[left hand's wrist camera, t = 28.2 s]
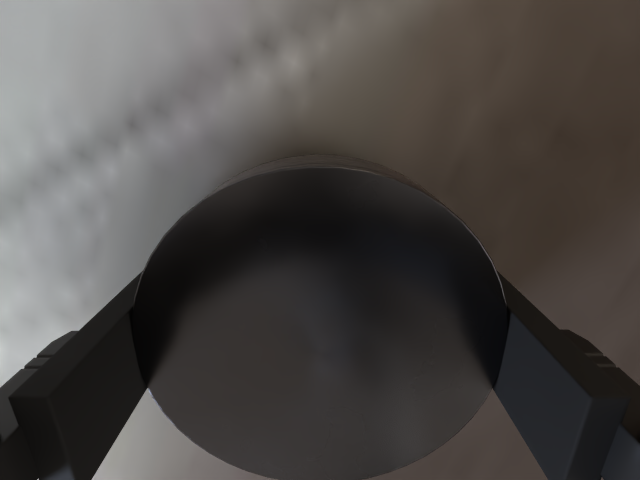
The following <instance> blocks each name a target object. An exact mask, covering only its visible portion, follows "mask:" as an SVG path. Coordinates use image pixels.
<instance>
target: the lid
mask: <svg viewBox="0 0 640 480" xmlns="http://www.w3.org/2000/svg"><path fill="white" fill-rule="evenodd" d="M507 332H508V318H507V306H506V300H505V296H504V291H503V287H502V283H501V280H500V278H499V275H498V273H497V271H496V268H495V266H494V264H493V261H492V259H491V258H490V256H489V255H488V253H487V251H486V250H485V248H484V247H483V245H482V243H481V242H480V240H479V239H478V238H477V237H476V236H475V234H474V233H473V232H472V231H471V230H470V229H469V227H468V226H467V225H466V224H465V223H464V222H463V221H462V220H461V219H460V218H459V217H458V216H456V215H455V214H454V213H453V212H452V211H451V210H449V209H448V208H447V207H446V206H445V205H443V204H442V203H441V202H440V201H439V200H437V199H436V198H435V197H434V196H432V195H431V194H430V193H429V192H427V191H426V190H425V189H424V188H422V187H421V186H420V185H418V184H416V183H415V182H413V181H412V180H410V179H408V178H407V177H405V176H404V175H402V174H400V173H398V172H395V171H393V170H391V169H389V168H386V167H384V166H382V165H379V164H375V163H372V162H369V161H365V160H362V159H358V158H352V157H345V156H339V155H303V156H294V157H287V158H283V159H279V160H275V161H271V162H267V163H264V164H261V165H259V166H256V167H254V168H251V169H249V170H246V171H244V172H242V173H240V174H238V175H237V176H235V177H233V178H232V179H230V180H228V181H226V182H225V183H223V184H222V185H220V186H219V187H218V188H217V189H215V190H214V191H213V192H212V193H210V194H209V195H208V196H207V197H205V198H204V199H203V200H202V201H200V202H199V203H198V204H197V205H195V206H194V207H193V208H192V209H190V210H189V211H188V212H187V213H186V214H184V215H183V216H182V217H181V218H180V219H179V220H178V221H177V222H176V223H175V224H174V225H173V226H172V227H171V229H170V230H169V231H168V232H167V233H166V234H165V235H164V236H163V238H162V239H161V241H160V242H159V244H158V245H157V247H156V248H155V249H154V251H153V252H152V254H151V255H150V258H149V260H148V262H147V264H146V266H145V268H144V270H143V272H142V274H141V277H140V280H139V284H138V287H137V291H136V294H135V298H134V306H133V314H132V336H133V343H134V348H135V353H136V357H137V362H138V366H139V369H140V372H141V374H142V377H143V380H144V382H145V384H146V386H147V388H148V390H149V392H150V393H151V395H152V397H153V399H154V400H155V402H156V403H157V404H158V406H159V407H160V409H161V410H162V412H163V413H164V414H165V415H166V417H167V418H168V419H169V420H170V421H171V422H172V423H173V424H174V425H175V426H176V427H177V429H178V430H180V431H181V432H182V433H183V434H184V435H185V436H187V437H188V438H189V439H190V440H191V441H192V442H194V443H195V444H197V445H198V446H199V447H201V448H202V449H204V450H205V451H207V452H208V453H210V454H212V455H213V456H215V457H217V458H219V459H221V460H223V461H225V462H226V463H228V464H231V465H233V466H236V467H238V468H240V469H243V470H245V471H248V472H251V473H255V474H258V475H261V476H265V477H269V478H274V479H279V480H361V479H366V478H371V477H374V476H378V475H382V474H385V473H389V472H391V471H394V470H396V469H399V468H402V467H404V466H407V465H409V464H411V463H413V462H415V461H417V460H419V459H421V458H423V457H425V456H426V455H428V454H430V453H431V452H433V451H434V450H436V449H437V448H439V447H440V446H442V445H443V444H445V443H446V442H447V441H448V440H449V439H451V438H452V437H453V436H454V435H456V434H457V433H458V432H459V431H460V430H461V429H462V428H463V427H464V426H465V425H466V424H467V423H468V422H469V421H470V420H471V419H472V418H473V416H474V415H475V414H476V412H477V411H478V410H479V408H480V407H481V406H482V404H483V403H484V402H485V400H486V398H487V396H488V395H489V393H490V391H491V389H492V387H493V386H494V384H495V381H496V379H497V376H498V374H499V371H500V369H501V365H502V360H503V355H504V351H505V346H506V340H507Z"/></svg>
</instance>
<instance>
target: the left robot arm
mask: <svg viewBox="0 0 640 480" xmlns="http://www.w3.org/2000/svg"><path fill="white" fill-rule="evenodd" d="M496 271H497V270H496ZM142 272H143V271H142ZM142 272H141V273H140V274H139V275H138V276H137V277H136V278H135V279H134V280H133V281H131V282H130V283H129V284H128V285H127V286H126V287H125V288H124V289H123V290H122V291H121V292H120V293H119V294H118V295H117V296H115V297H114V298H113V299H112V300H111V301H110V302H109V303H108V304H107V305H106V306H105V307H104V308H103V309H102V310H101V311H100V312H98V313H97V314H96V315H95V316H94V317H93V318H92V319H91V320H90V321H89V322H88V323H87V324H86V325H85V326H84V327H82V328H81V329H80V330H79V331H71V332H69V333H67V334H65V335H64V336H62V337H60V338H58V339H56V340H55V341H53V342H51V343H50V344H49V345H48V346H47V347H46V348H45V349H43V350H42V351H41V352H40V353H39V354H38V355H37V358H33V359H32V360H31V361H30V362H29V363H28V364H26V365H25V368H24V369H21V370H20V371H19V372H17V373H16V374H15V375H14V376H13V377H12V378H11V379H10V380H8V381H7V382H6V383H5V384H4V385H3V386H2V387H1V388H0V480H37V479H38V478H39V480H91V479H92V478H93V476H94V475H95V473H96V471H97V470H98V468H99V466H100V465H101V463H102V461H103V460H104V458H105V456H106V455H107V453H108V452H109V450H110V448H111V447H112V445H113V443H114V442H115V440H116V438H117V437H118V435H119V433H120V432H121V430H122V429H123V427H124V425H125V424H126V422H127V420H128V419H129V417H130V415H131V414H132V412H133V410H134V409H135V407H136V406H137V404H138V402H139V401H140V399H141V397H142V396H143V394H144V392H145V391H146V389H147V386H146V384H145V382H144V380H143V377H142V374H141V372H140V369H139V366H138V362H137V357H136V353H135V348H134V343H133V336H132V314H133V306H134V298H135V294H136V291H137V287H138V284H139V280H140V277H141V274H142ZM497 273H498V275H499V278H500V280H501V283H502V287H503V291H504V296H505V300H506V306H507V318H508V332H507V340H506V346H505V351H504V355H503V360H502V365H501V369H500V371H499V374H498V376H497V379H496V381H495V384H494V386H493V387H492V388H493V390H494V391H495V393H496V395H497V396H498V398H499V399H500V401H501V403H502V404H503V406H504V408H505V409H506V411H507V413H508V414H509V416H510V418H511V419H512V421H513V422H514V424H515V426H516V427H517V429H518V431H519V432H520V434H521V436H522V437H523V439H524V441H525V442H526V444H527V445H528V447H529V449H530V450H531V452H532V454H533V455H534V457H535V459H536V460H537V462H538V464H539V465H540V467H541V468H542V470H543V472H544V473H545V475H546V477H547V478H548V480H601V477H603V479H604V480H640V386H639V385H638V384H637V383H636V382H635V381H633V380H632V379H631V378H630V377H629V376H628V375H627V374H625V373H624V372H623V371H622V370H621V369H620V368H616V366H615V364H614V363H613V362H612V361H611V360H610V359H608V358H607V357H606V356H603V353H602V352H600V351H599V350H598V349H597V348H596V347H595V346H594V345H592V344H591V343H590V342H589V341H588V340H586V339H584V338H582V337H581V336H579V335H577V334H575V333H573V332H572V331H570V330H559V329H558V328H557V327H556V326H555V325H554V324H553V323H552V322H551V321H550V320H549V319H548V318H547V317H546V316H544V315H543V314H542V313H541V312H540V311H539V310H538V309H537V308H536V307H535V306H534V305H533V304H532V303H531V302H530V301H528V300H527V299H526V298H525V297H524V296H523V295H522V294H521V293H520V292H519V291H518V290H517V289H516V288H515V287H514V286H513V285H511V284H510V283H509V282H508V281H507V280H506V279H505V278H504V277H503V276H502V275H501V274H500V273H499V272H498V271H497Z"/></svg>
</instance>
